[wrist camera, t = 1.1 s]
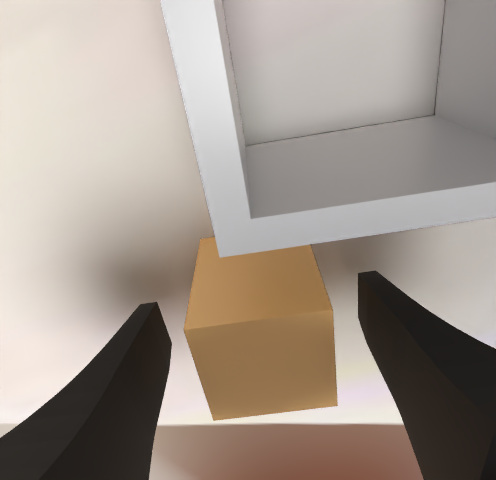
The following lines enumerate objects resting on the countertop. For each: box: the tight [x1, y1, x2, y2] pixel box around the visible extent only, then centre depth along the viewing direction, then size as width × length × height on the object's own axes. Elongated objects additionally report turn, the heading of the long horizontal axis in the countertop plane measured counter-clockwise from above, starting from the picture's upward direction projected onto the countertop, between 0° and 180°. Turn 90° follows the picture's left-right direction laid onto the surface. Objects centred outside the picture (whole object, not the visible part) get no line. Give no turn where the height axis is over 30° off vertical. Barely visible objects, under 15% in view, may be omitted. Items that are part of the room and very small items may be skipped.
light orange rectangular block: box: [184, 237, 338, 421], centre depth 13 cm, size 4×4×5 cm
